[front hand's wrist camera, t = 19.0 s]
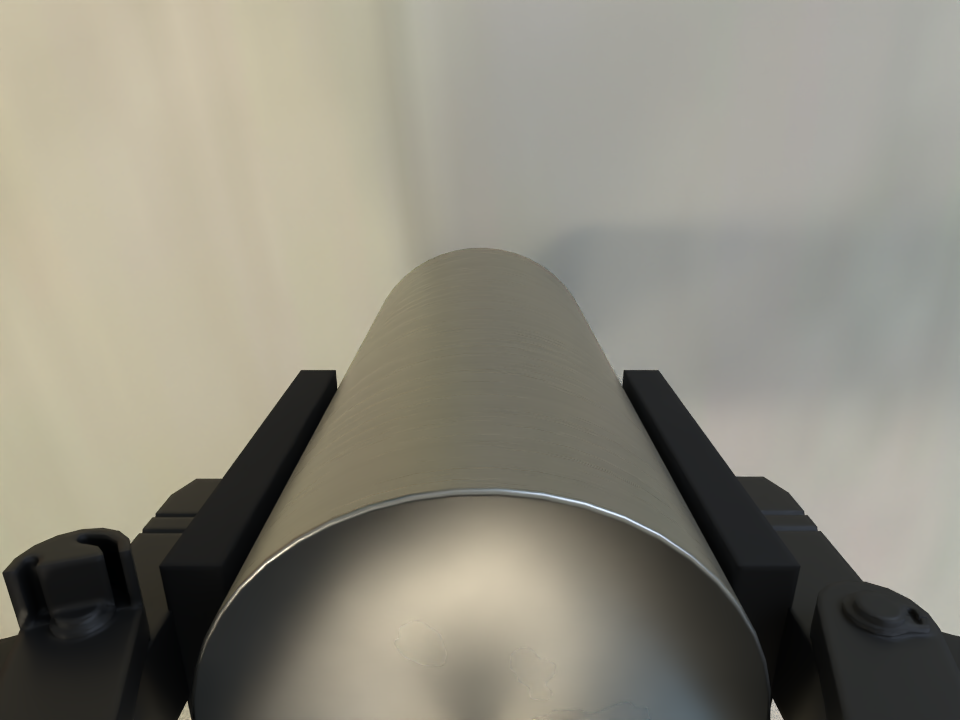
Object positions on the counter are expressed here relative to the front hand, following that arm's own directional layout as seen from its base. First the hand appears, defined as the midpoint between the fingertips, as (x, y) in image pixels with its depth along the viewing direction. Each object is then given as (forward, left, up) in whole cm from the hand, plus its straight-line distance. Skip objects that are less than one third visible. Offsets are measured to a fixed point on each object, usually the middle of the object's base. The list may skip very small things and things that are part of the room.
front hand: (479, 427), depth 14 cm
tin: (0, 0, -4) cm, 4 cm away
